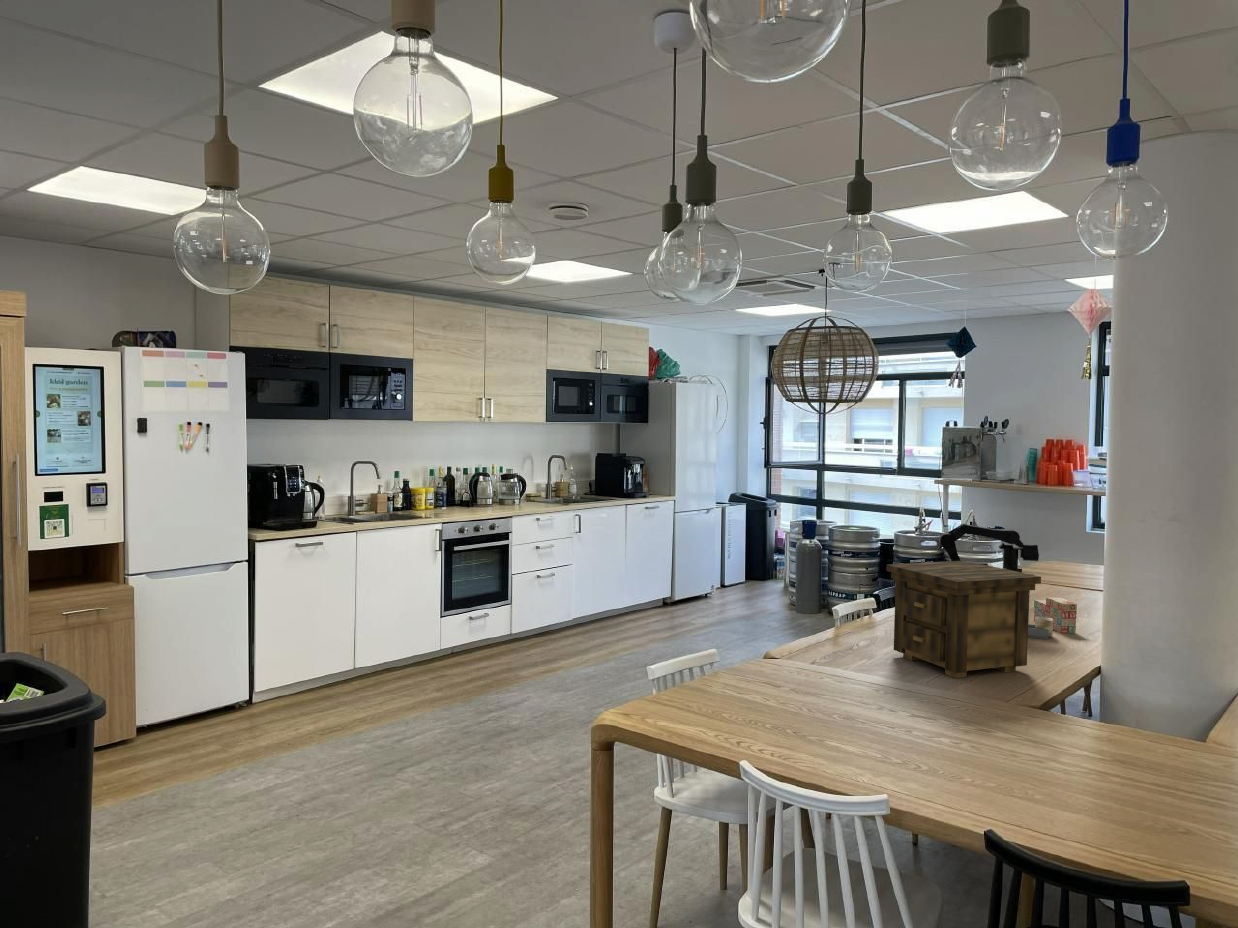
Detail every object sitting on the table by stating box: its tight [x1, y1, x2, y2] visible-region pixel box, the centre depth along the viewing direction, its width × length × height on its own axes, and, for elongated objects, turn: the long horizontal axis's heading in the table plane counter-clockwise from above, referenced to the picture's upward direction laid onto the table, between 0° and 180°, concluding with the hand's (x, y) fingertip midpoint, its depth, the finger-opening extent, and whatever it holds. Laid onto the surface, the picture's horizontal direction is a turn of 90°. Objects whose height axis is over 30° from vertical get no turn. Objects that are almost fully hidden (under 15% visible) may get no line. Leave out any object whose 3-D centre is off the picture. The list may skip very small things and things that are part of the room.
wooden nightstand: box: [885, 560, 1042, 678], centre depth 294 cm, size 35×35×33 cm
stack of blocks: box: [1033, 596, 1078, 634], centre depth 353 cm, size 21×6×12 cm, turn 2°
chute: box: [1028, 623, 1050, 640], centre depth 340 cm, size 20×9×4 cm, turn 66°
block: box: [1034, 616, 1054, 637], centre depth 337 cm, size 6×6×6 cm
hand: (1009, 597), depth 354 cm, fingers closed
